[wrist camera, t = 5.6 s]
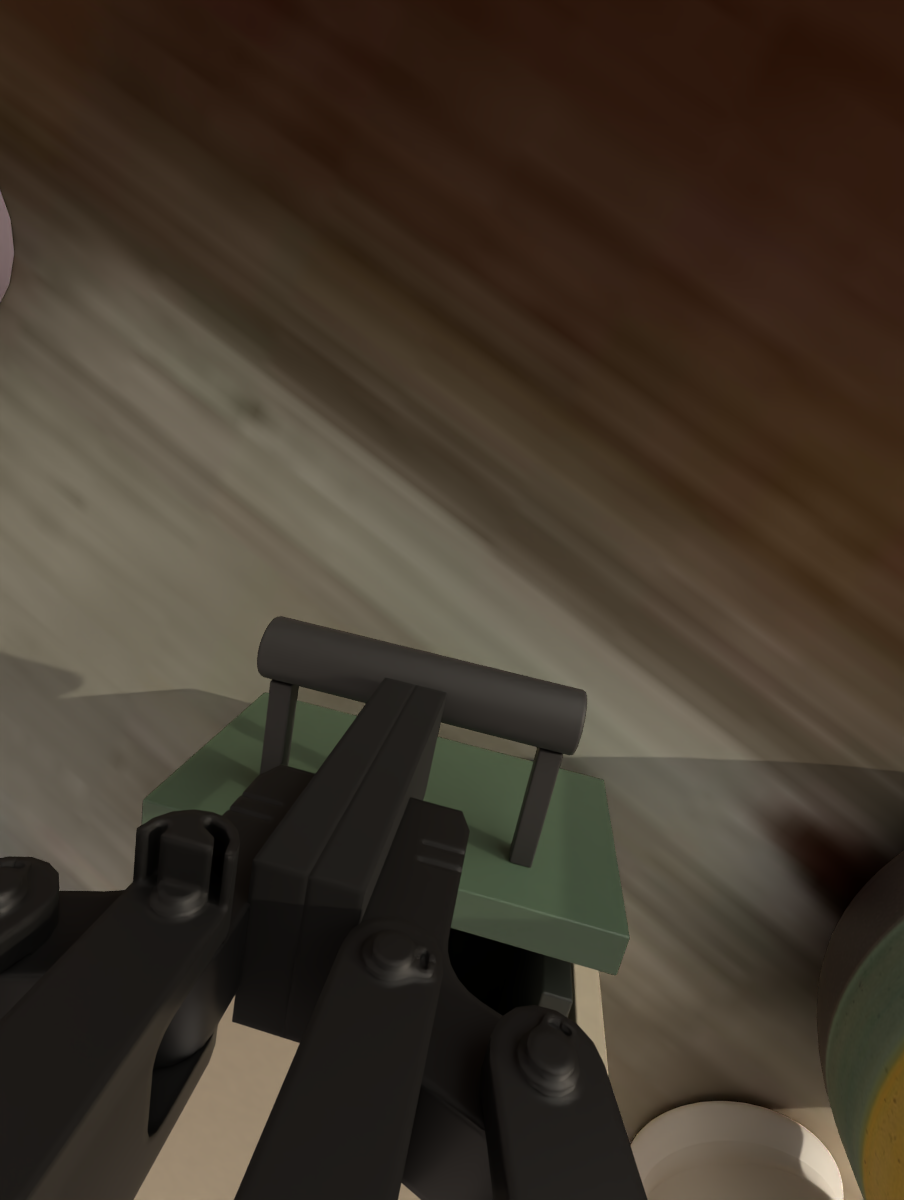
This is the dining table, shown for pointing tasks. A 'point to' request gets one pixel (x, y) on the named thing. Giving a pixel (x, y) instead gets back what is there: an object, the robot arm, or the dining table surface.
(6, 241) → the cat figurine
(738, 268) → the dining table surface
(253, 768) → the drawer
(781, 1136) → the jar
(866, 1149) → the vase
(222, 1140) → the cabinet
